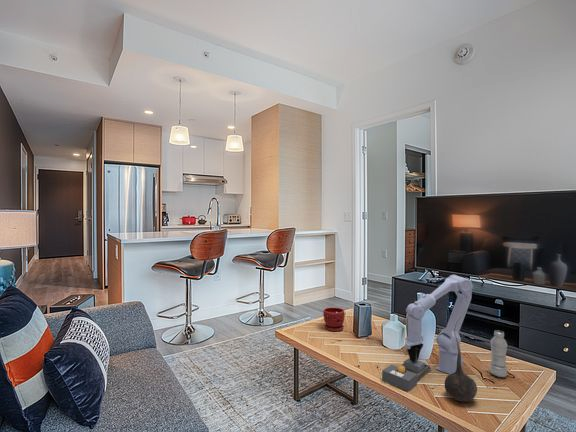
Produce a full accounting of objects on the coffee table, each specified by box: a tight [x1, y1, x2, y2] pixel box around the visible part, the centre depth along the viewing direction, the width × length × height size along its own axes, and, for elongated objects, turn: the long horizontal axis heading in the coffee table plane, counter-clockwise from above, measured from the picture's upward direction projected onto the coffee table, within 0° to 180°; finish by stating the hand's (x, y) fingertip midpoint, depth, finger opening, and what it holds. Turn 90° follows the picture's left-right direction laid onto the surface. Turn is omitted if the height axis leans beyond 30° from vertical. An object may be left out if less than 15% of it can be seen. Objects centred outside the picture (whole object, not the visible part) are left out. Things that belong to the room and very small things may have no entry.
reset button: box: [397, 364, 405, 374], centre depth 141 cm, size 3×3×4 cm
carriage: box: [403, 354, 425, 373], centre depth 150 cm, size 7×6×8 cm
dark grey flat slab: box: [401, 362, 431, 383], centre depth 149 cm, size 10×16×2 cm, turn 134°
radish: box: [444, 320, 478, 403], centre depth 129 cm, size 11×14×30 cm
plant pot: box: [322, 307, 346, 332], centre depth 204 cm, size 13×13×12 cm
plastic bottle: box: [489, 329, 508, 378], centre depth 147 cm, size 6×7×20 cm
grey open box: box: [381, 364, 418, 392], centre depth 140 cm, size 12×8×5 cm, turn 44°
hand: (414, 359), depth 150 cm, fingers closed on carriage, 2 cm apart
